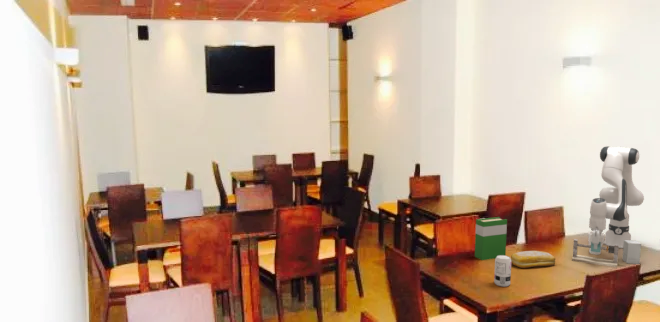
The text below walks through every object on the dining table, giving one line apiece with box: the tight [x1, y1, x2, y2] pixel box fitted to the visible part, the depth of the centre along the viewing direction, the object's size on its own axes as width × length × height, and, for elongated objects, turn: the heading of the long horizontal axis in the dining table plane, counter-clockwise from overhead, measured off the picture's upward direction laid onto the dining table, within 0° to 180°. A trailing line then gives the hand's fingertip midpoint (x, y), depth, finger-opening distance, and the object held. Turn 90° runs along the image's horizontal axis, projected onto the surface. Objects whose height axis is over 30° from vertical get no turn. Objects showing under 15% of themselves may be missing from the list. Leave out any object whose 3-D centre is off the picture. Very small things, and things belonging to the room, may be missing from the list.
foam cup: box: [587, 230, 606, 256], centre depth 324 cm, size 10×9×13 cm
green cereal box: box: [474, 216, 508, 261], centre depth 316 cm, size 18×7×24 cm, turn 111°
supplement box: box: [622, 239, 642, 265], centre depth 307 cm, size 7×7×13 cm
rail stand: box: [571, 238, 619, 268], centre depth 307 cm, size 10×24×12 cm, turn 59°
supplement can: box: [493, 255, 512, 288], centre depth 270 cm, size 8×8×15 cm
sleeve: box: [591, 242, 602, 252], centre depth 307 cm, size 4×5×5 cm
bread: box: [510, 250, 556, 269], centre depth 302 cm, size 13×26×8 cm, turn 107°
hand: (595, 247), depth 307 cm, fingers closed on sleeve, 4 cm apart
